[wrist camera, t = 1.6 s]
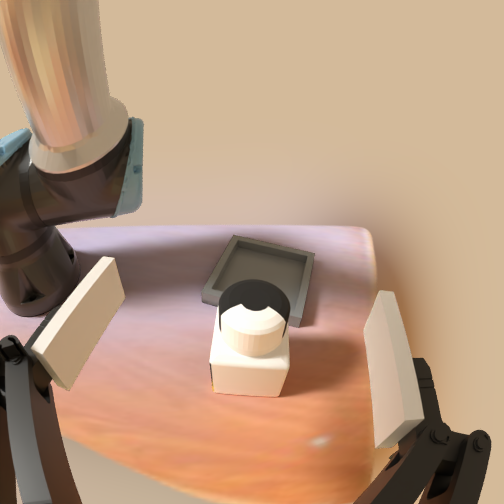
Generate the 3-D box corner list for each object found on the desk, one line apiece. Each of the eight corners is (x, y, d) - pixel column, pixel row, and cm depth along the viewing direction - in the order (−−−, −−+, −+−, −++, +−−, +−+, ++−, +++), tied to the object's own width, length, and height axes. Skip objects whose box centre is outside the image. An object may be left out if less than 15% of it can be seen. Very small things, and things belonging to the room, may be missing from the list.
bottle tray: (202, 302, 39) (201, 292, 38) (233, 244, 49) (233, 234, 48) (298, 327, 37) (301, 318, 36) (312, 263, 47) (314, 253, 45)
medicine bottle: (219, 340, 35) (217, 266, 27) (278, 344, 35) (296, 272, 27) (212, 393, 29) (205, 330, 22) (279, 398, 29) (301, 337, 22)
